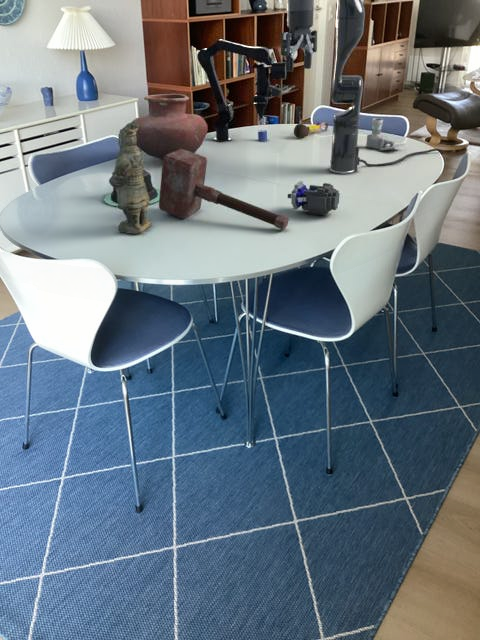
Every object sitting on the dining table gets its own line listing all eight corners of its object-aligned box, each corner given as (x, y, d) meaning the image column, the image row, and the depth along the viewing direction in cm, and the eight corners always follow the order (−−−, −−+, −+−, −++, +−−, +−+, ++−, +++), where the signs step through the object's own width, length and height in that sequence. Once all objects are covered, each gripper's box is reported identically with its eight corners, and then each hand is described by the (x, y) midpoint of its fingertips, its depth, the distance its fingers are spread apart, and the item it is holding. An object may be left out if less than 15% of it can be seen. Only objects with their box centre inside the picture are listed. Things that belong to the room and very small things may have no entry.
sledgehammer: (299, 190, 156) (179, 147, 167) (285, 200, 148) (161, 154, 160) (286, 244, 166) (174, 200, 177) (272, 256, 158) (156, 209, 170)
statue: (131, 220, 168) (117, 116, 152) (158, 224, 164) (147, 118, 149) (109, 233, 159) (93, 124, 144) (138, 237, 156) (124, 126, 140)
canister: (256, 141, 256) (256, 131, 253) (260, 139, 259) (260, 129, 256) (264, 141, 254) (264, 132, 252) (268, 140, 257) (268, 130, 255)
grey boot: (376, 116, 238) (408, 121, 230) (373, 144, 244) (404, 150, 236) (365, 119, 233) (397, 124, 224) (362, 148, 239) (393, 154, 230)
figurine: (335, 120, 268) (311, 122, 249) (333, 136, 271) (309, 140, 252) (311, 118, 275) (286, 120, 256) (309, 134, 278) (284, 137, 259)
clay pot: (215, 151, 239) (212, 89, 226) (198, 171, 213) (194, 102, 201) (147, 150, 244) (141, 89, 231) (123, 168, 218) (114, 101, 206)
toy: (295, 178, 172) (342, 184, 166) (295, 205, 177) (340, 211, 171) (285, 186, 166) (333, 192, 160) (284, 213, 170) (331, 220, 164)
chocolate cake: (91, 202, 180) (113, 186, 197) (142, 231, 182) (160, 212, 199) (107, 162, 172) (129, 148, 190) (160, 192, 174) (177, 176, 192)
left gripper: (278, 82, 234) (278, 120, 242) (282, 76, 250) (282, 112, 258) (252, 82, 235) (252, 120, 243) (258, 76, 251) (258, 112, 259)
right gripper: (305, 8, 166) (303, 67, 175) (274, 9, 158) (273, 71, 166) (325, 7, 162) (322, 68, 170) (295, 9, 153) (293, 73, 161)
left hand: (262, 116), depth 251 cm, fingers open, 9 cm apart
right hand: (298, 70), depth 168 cm, fingers open, 8 cm apart
